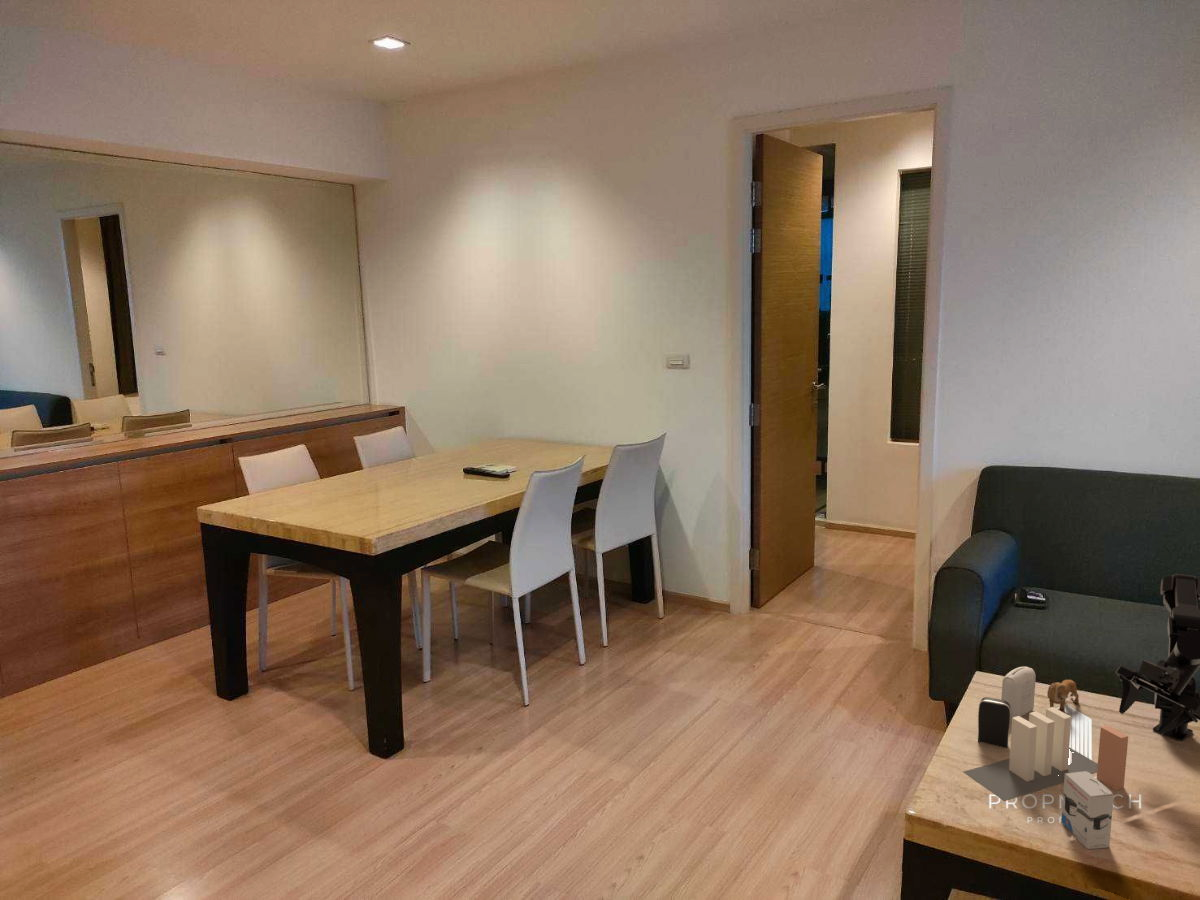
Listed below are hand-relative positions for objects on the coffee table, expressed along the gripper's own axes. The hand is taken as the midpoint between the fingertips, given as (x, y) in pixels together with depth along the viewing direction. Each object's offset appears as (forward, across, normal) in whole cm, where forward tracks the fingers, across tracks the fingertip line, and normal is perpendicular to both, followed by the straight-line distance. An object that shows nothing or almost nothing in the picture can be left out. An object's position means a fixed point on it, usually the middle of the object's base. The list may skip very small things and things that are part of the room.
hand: (1139, 722), depth 185 cm
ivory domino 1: (+25, -9, -8) cm, 28 cm away
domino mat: (+23, -9, -5) cm, 25 cm away
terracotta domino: (+15, +1, +3) cm, 15 cm away
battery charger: (+22, -22, -4) cm, 32 cm away
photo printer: (+12, -31, +8) cm, 34 cm away
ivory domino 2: (+22, -9, -4) cm, 24 cm away
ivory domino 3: (+18, -9, -1) cm, 20 cm away
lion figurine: (+3, -28, +17) cm, 33 cm away
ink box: (+28, +11, -11) cm, 32 cm away
